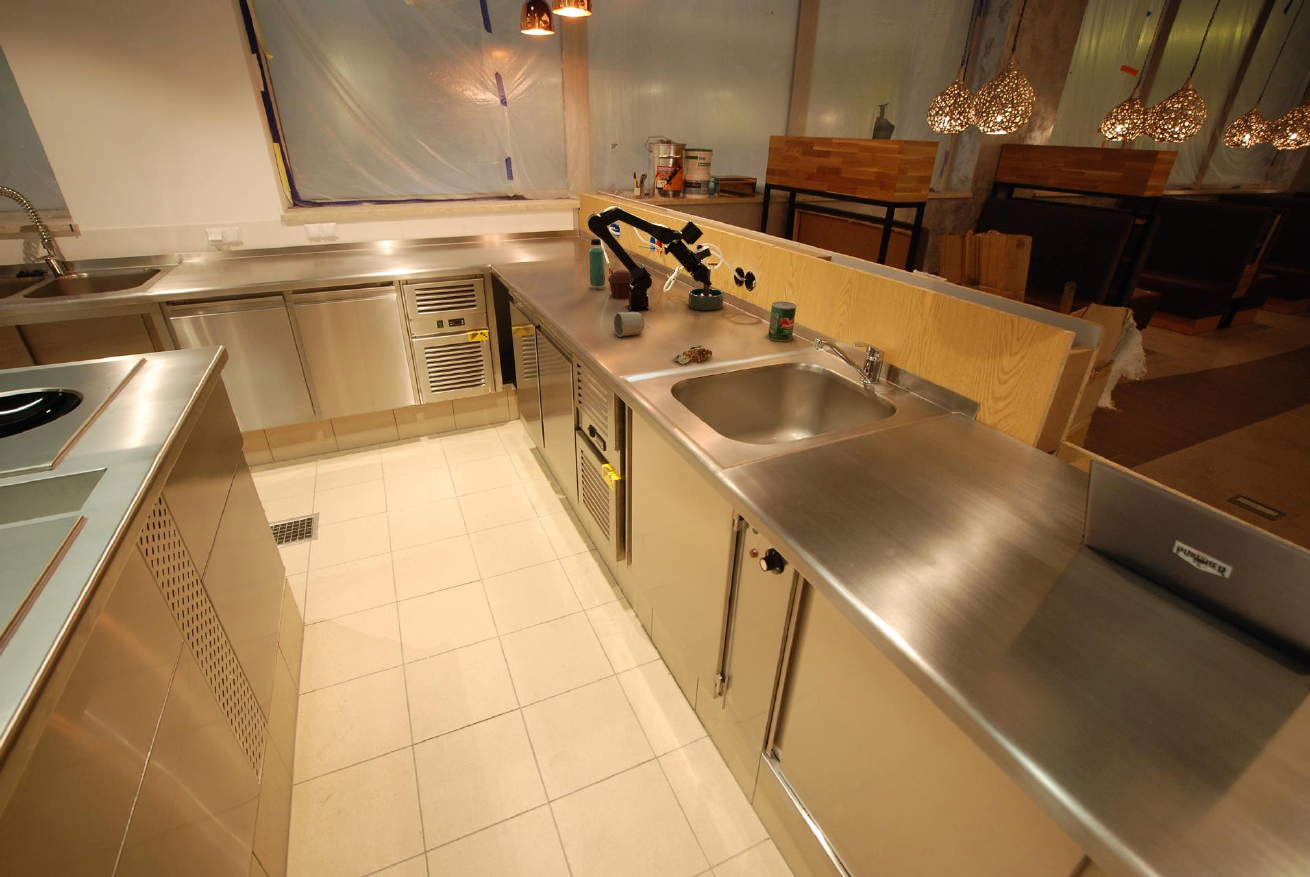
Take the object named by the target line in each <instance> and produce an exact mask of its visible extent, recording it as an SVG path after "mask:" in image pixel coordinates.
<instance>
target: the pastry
mask: <svg viewBox="0 0 1310 877" xmlns="http://www.w3.org/2000/svg"><path fill="white" fill-rule="evenodd" d="M708 356H710V357H713V351H712V350H711V349H707V348H706V347H705V346H704V345H703V344H699V345H695V346H691V347H690V348H689V349H686V350H684V351H683V352H682V354H677V355H676V356H675V359H674V361H675V362H679V363H680V364H681V365H685V364H687V363H689V361H690V360H696V359H697V361H698V363H702V361H706V360H707V357H708Z"/></svg>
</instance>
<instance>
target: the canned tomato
mask: <svg viewBox="0 0 1310 877" xmlns="http://www.w3.org/2000/svg"><path fill="white" fill-rule="evenodd" d="M796 311H797V304H795V303H793V302H789V301H774V302H772V303H771V308H770V316H769V325H768V334H767V338H768V339H769V340H772V341H775V342H790V341H791V340H793V333H794V326H795V320H796V319H795V318H796Z"/></svg>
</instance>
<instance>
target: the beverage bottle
mask: <svg viewBox="0 0 1310 877" xmlns="http://www.w3.org/2000/svg"><path fill="white" fill-rule="evenodd" d="M590 245H591V246H592V247H590V249H589V250H588V259H589V284H590V286H592V287H603V286H605V285H606V272H605V269H606V268H605V250H604V248H602V247H601V245H602V240H601V239H600V238H591V239H590Z"/></svg>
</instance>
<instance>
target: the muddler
mask: <svg viewBox="0 0 1310 877" xmlns="http://www.w3.org/2000/svg"><path fill="white" fill-rule="evenodd" d="M707 268H708V269H709V271H708V272H707V273H706V274H707V276H708V278H709V279H710V280H711V275H712V268H711V267H707ZM702 288H703V294H700V296H707V297H711V296H712V295H711V294H709V290H710V288H711V286H709V285H706V284H704V283H703V286H702Z"/></svg>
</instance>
